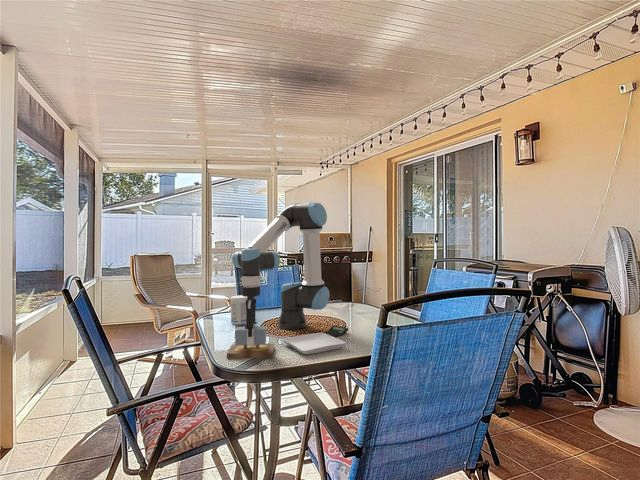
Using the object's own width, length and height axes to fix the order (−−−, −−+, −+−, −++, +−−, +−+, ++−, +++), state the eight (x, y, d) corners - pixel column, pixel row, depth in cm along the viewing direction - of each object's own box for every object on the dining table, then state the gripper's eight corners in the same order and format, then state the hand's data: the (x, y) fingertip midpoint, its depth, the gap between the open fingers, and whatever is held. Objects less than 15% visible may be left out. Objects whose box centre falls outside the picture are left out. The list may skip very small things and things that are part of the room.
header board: (274, 348, 162) (274, 334, 162) (272, 357, 150) (272, 343, 150) (231, 349, 161) (231, 336, 161) (226, 358, 149) (226, 344, 149)
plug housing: (235, 345, 152) (235, 330, 152) (237, 341, 158) (237, 326, 158) (265, 344, 153) (265, 329, 153) (266, 340, 159) (266, 326, 159)
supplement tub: (248, 320, 214) (248, 294, 214) (249, 324, 205) (248, 297, 205) (230, 321, 212) (230, 295, 212) (230, 325, 203) (230, 298, 203)
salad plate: (281, 345, 168) (281, 337, 168) (322, 338, 178) (322, 331, 178) (302, 359, 149) (302, 350, 149) (347, 350, 160) (347, 342, 160)
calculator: (318, 335, 183) (318, 329, 183) (333, 330, 192) (333, 325, 192) (333, 339, 177) (333, 332, 177) (348, 334, 186) (348, 327, 186)
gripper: (244, 283, 164) (244, 336, 164) (238, 289, 146) (238, 349, 146) (261, 283, 165) (262, 336, 165) (258, 289, 146) (258, 348, 146)
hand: (251, 342), depth 155 cm, fingers closed on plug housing, 5 cm apart
